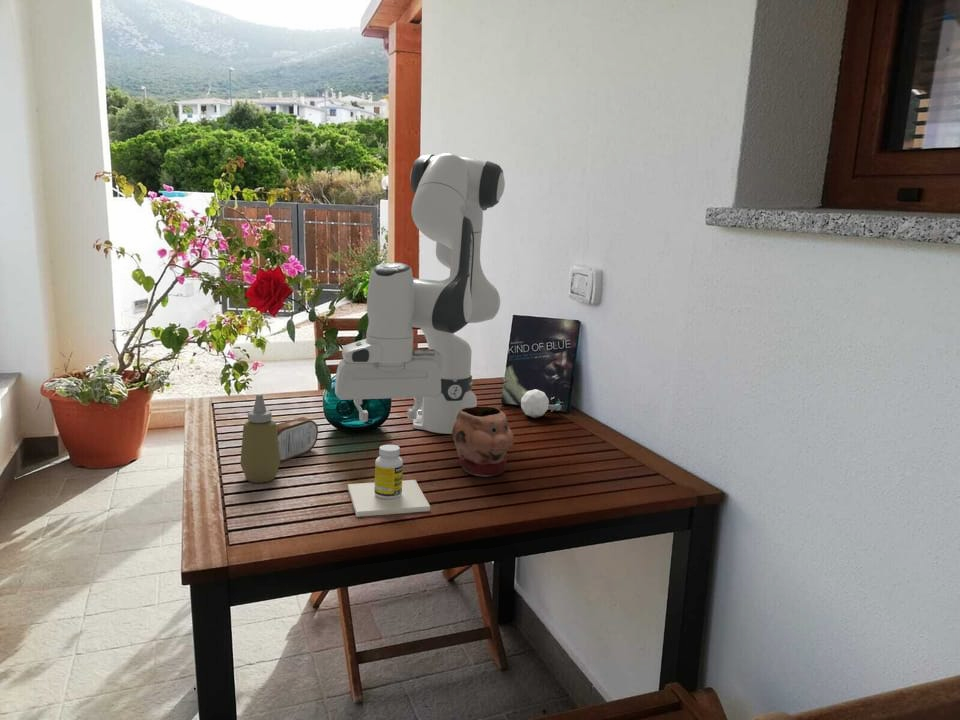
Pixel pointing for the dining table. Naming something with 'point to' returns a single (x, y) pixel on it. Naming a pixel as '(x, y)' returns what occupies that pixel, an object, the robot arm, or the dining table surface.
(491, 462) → the decorative planter
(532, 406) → the perfume bottle
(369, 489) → the tile
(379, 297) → the robot arm
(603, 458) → the dining table surface
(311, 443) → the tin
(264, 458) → the squeeze bottle
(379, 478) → the supplement bottle
